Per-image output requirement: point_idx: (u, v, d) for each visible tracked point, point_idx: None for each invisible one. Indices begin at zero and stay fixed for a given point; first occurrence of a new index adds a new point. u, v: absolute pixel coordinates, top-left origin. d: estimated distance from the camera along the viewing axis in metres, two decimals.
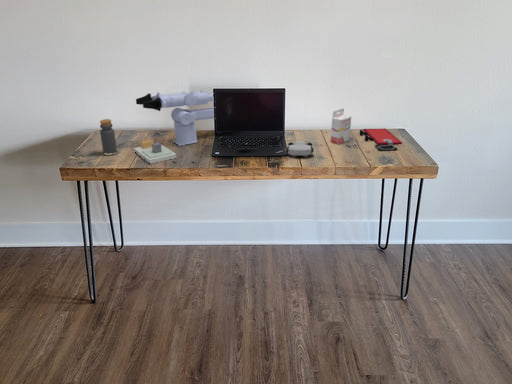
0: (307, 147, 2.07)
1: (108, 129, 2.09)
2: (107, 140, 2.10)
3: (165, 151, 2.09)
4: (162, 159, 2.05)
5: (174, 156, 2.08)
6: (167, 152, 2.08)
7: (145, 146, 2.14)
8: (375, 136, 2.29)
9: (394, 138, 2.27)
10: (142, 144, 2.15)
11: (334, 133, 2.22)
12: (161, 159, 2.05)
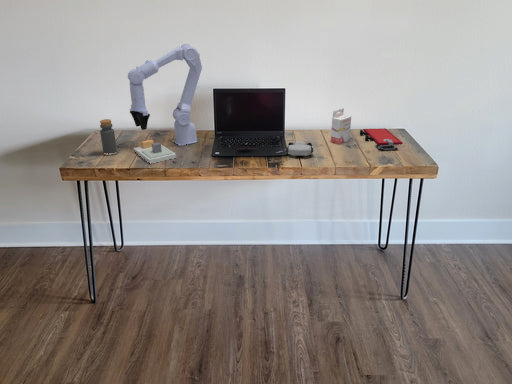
0: (307, 147, 2.07)
1: (108, 129, 2.09)
2: (107, 140, 2.10)
3: (165, 151, 2.09)
4: (162, 159, 2.05)
5: (174, 156, 2.08)
6: (167, 152, 2.08)
7: (145, 146, 2.14)
8: (375, 136, 2.29)
9: (394, 138, 2.27)
10: (142, 144, 2.15)
11: (334, 133, 2.22)
12: (161, 159, 2.05)
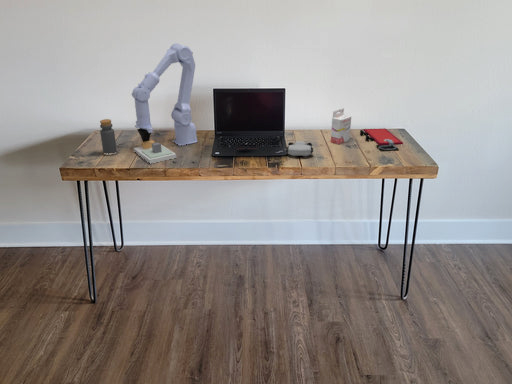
0: (307, 147, 2.07)
1: (108, 129, 2.09)
2: (107, 140, 2.10)
3: (165, 151, 2.09)
4: (162, 159, 2.05)
5: (174, 156, 2.08)
6: (167, 152, 2.08)
7: (146, 147, 2.14)
8: (375, 136, 2.29)
9: (395, 138, 2.27)
10: (143, 145, 2.14)
11: (334, 133, 2.22)
12: (161, 159, 2.05)
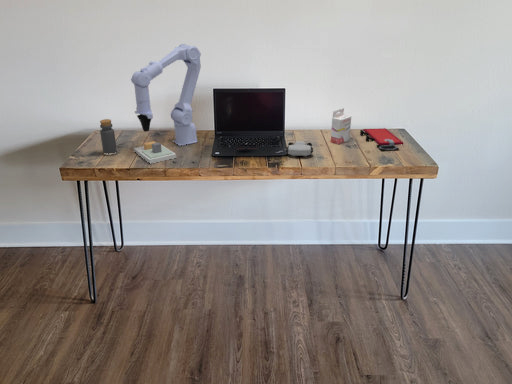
0: (307, 147, 2.07)
1: (108, 129, 2.09)
2: (107, 140, 2.10)
3: (165, 151, 2.09)
4: (162, 159, 2.05)
5: (174, 156, 2.08)
6: (167, 152, 2.08)
7: (148, 148, 2.12)
8: (375, 136, 2.29)
9: (395, 138, 2.27)
10: (145, 146, 2.12)
11: (334, 133, 2.22)
12: (161, 159, 2.05)
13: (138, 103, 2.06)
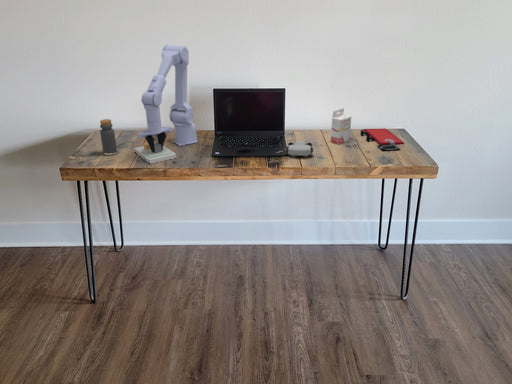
0: (307, 147, 2.07)
1: (108, 129, 2.09)
2: (107, 140, 2.10)
3: (165, 151, 2.09)
4: (162, 159, 2.05)
5: (174, 156, 2.08)
6: (167, 152, 2.08)
7: (148, 148, 2.12)
8: (376, 136, 2.29)
9: (395, 138, 2.27)
10: (145, 146, 2.12)
11: (334, 133, 2.22)
12: (161, 159, 2.05)
13: None
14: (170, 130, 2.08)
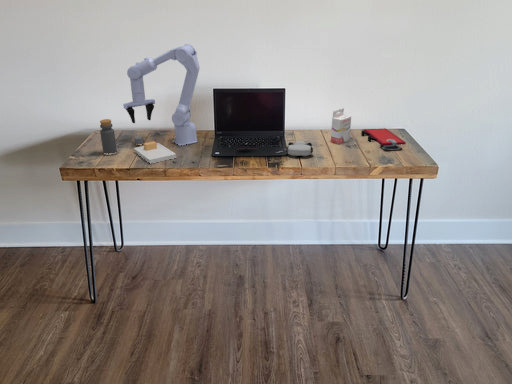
0: (307, 147, 2.07)
1: (108, 129, 2.09)
2: (107, 140, 2.10)
3: None
4: (162, 159, 2.05)
5: (174, 156, 2.08)
6: None
7: (148, 148, 2.12)
8: (377, 136, 2.29)
9: (397, 138, 2.27)
10: (145, 146, 2.12)
11: (334, 133, 2.22)
12: (161, 159, 2.05)
13: None
14: (153, 102, 2.26)
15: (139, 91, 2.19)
